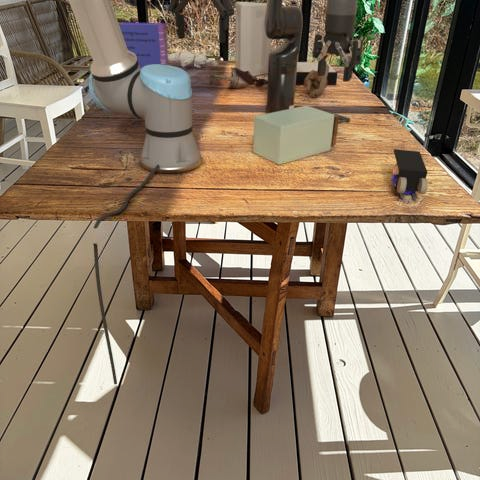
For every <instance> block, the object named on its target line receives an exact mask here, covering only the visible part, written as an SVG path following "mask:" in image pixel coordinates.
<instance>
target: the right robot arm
mask: <svg viewBox="0 0 480 480" xmlns="http://www.w3.org/2000/svg"><path fill="white" fill-rule="evenodd" d="M283 1H284V0H266V3H267V5H266V12H265V22H264V27H265V33H266V36H267V37H268V38H269V39H271V40H283V42H282V43H281V44H280V45H279V46H278V47H276V48H274V49H273V50H272V49H271V52H270V53H269V56H268V73H267V79H268V81H267V86H266V102H265V103H266V106H265V110H266V111H265V114H268V113H273V112H278V111H283V110H287V109H292V108H295V100H296V99H295V98H296V87H297V86H296V85H297V84H296V72H297V62H298V58H299V55H300V50H301V41H302V35H303V25H304V24H303V23H304V21H303V12H302V10H301V8H300V7H299V6H297V5H283V3H284V2H283ZM358 3H359V2H358V0H327V1H326V7H325V8H326V11H325V18H324V28H323V29H324V32H325V33H316V34H315V35H314V40H313V47H312V56H311V57H312V58H313V59H316V60H317V62H318V70H317V72H318V75H319V76H324V75H325V72H326V62H328V61H327V59H328V58H329V57H330V55H335V56H338V57H339V58H340V59H341V60H342V61H343V64H344V69H343V76H342V82H345V83H347V82H350V81H351V80H352V77H353V69H354V67H355V66H358V65H361V63H362V54H363V52H362V51H363V39H353V33H354V32H355V26H356V19H357V11H358Z"/></svg>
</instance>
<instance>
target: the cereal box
mask: <svg viewBox="0 0 480 480" xmlns="http://www.w3.org/2000/svg"><path fill="white" fill-rule="evenodd" d="M118 24H119V26H120V29H121V32H122V35H123V38H124V41H125V44H126V47H127V49H128V50H129V51H131V52H133V53H134V54H135V55H136V56H137V59H138V62H139V65H140V68H141V69H142V68H143V67H144V66H147V65H152V64H161V65H169V61H168V54H169V51H168V35H167V34H168V33H167V23H166V22H162V23H161V22H125V21H124V22H123V21H118Z"/></svg>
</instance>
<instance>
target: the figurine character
mask: <svg viewBox="0 0 480 480" xmlns="http://www.w3.org/2000/svg"><path fill="white" fill-rule="evenodd" d="M393 153H394V158H395V161H396V163H395V164H394V166H393V168H392V177H393V178H391V182H392V184H393V185H394V190H396V192H397V193H398V194H399V198H400V199H402V200H403V199H404V194H406V195H409V194H411V197H412V200H414V201H416V200H417V199H418V197H417V193H418V194H420V195H426V194H427V191H428V187H429V180H428V178H427V175H428V170H427V167H426V165H425V162H424V159H423V157H422V154H421V152H420V151H417V150H407V149H397V148H394V149H393Z"/></svg>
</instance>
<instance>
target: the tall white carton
mask: <svg viewBox="0 0 480 480" xmlns="http://www.w3.org/2000/svg"><path fill="white" fill-rule="evenodd" d="M266 5H267V2H265V3H264V2H252V1H235V59H234V60H235V62H234V63H235V65H234V66H235V67H234V68H237V69H240V70H242V71H244V72H245V71H249V72H250V73H251V75H252V76H256V77H257V76H259V75H260V76H261V75H266V74H268V56H269V53H270V52H271V51H272V39H269V38H268V37H267V36H266V33H265V27H264V22H265V12H266Z"/></svg>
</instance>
